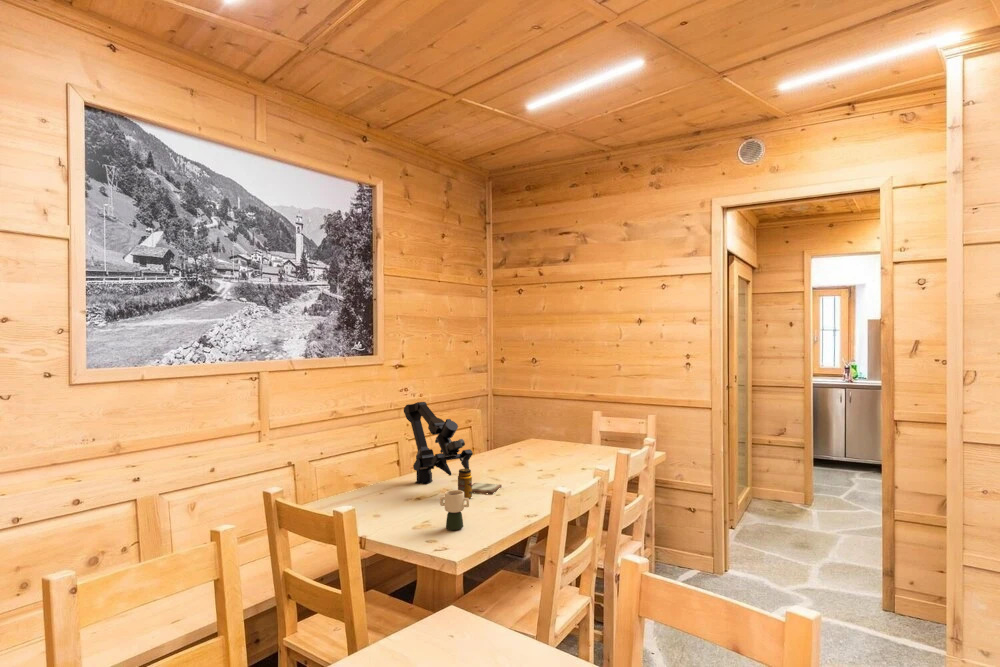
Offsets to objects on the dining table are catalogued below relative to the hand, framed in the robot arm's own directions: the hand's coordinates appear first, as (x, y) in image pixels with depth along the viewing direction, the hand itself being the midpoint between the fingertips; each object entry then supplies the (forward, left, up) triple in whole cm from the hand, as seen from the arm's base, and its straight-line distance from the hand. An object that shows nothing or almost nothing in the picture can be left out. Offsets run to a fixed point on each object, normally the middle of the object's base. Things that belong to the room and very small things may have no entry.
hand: (459, 473), depth 248 cm
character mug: (+14, -40, -10) cm, 44 cm away
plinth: (+6, +14, -10) cm, 18 cm away
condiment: (+2, -1, -10) cm, 11 cm away
